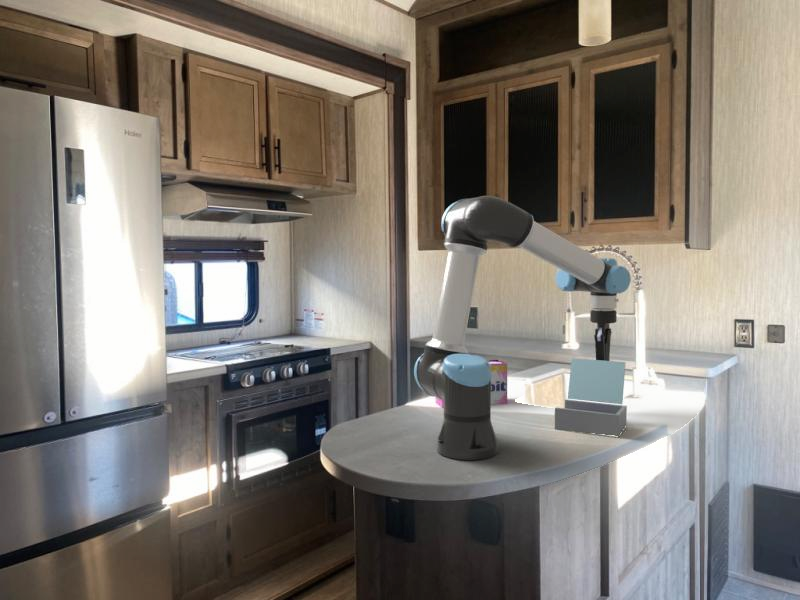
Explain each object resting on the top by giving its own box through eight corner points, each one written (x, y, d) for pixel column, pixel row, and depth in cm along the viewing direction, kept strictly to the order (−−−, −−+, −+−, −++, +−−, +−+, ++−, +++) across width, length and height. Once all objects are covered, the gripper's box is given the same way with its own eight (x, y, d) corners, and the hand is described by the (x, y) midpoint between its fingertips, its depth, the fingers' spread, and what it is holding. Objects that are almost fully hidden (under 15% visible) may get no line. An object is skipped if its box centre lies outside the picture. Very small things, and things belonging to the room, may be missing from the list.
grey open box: (618, 437, 159) (618, 415, 159) (554, 429, 168) (554, 408, 167) (626, 426, 169) (626, 405, 169) (565, 419, 178) (565, 399, 177)
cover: (625, 362, 173) (625, 362, 173) (571, 358, 180) (572, 358, 181) (621, 404, 170) (622, 404, 171) (567, 398, 178) (568, 398, 178)
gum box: (438, 409, 192) (437, 366, 191) (431, 403, 200) (430, 362, 199) (508, 403, 198) (508, 362, 197) (498, 398, 205) (498, 359, 204)
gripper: (612, 311, 174) (611, 392, 176) (620, 308, 186) (619, 383, 187) (585, 310, 178) (584, 389, 180) (595, 307, 189) (594, 381, 191)
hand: (602, 386), depth 183 cm, fingers closed
